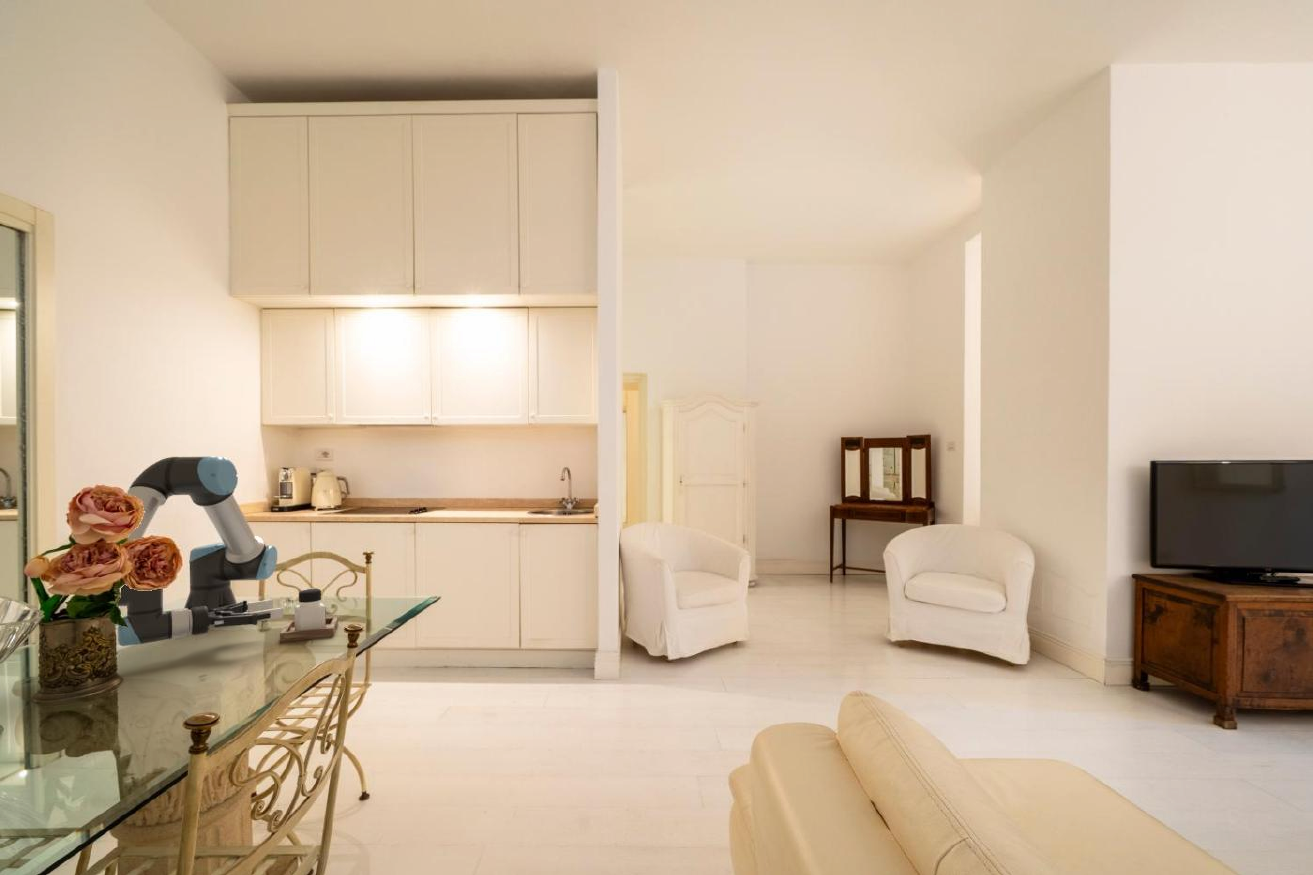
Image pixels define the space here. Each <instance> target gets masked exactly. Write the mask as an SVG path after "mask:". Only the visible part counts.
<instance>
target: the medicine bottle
mask: <svg viewBox="0 0 1313 875" xmlns="http://www.w3.org/2000/svg"><path fill="white" fill-rule="evenodd" d="M326 610H327V608H326V605H325V604H323V603H322V590H321V589H319V588H317V587H316V588H305V589H301V590H300V591H299V592H298V604H296V605H295V606H294V621H295V629H296V630H297V631H300V630H310V629H320V628H326V618H327V611H326Z"/></svg>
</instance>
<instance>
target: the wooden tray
mask: <svg viewBox="0 0 1313 875" xmlns="http://www.w3.org/2000/svg"><path fill="white" fill-rule="evenodd" d="M338 626H339V616H329V617H326V628H320V629H310V630H300V631H297V630H296V629H295V620H289V621H287V622H286V623H285V625H284V627H283V628H282V629H281V631H280V633H279V643H284V642H285V643H286V642H294V641H302V640H303V641H304V640H314V639H324V638H331V637H332V638H333V637H334V636H335V633H336V631H337V628H338Z"/></svg>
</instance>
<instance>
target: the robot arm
mask: <svg viewBox="0 0 1313 875" xmlns="http://www.w3.org/2000/svg"><path fill="white" fill-rule="evenodd" d="M238 480H239V478H238V471H237V468H236V466H235V465H234V463H233V462H232V461H231V460H230V459H228V458H226V457H223V456H215V455H207V456H170V457H166V458H162V459H160V460H158V461H156V462H154V463H152V464H151V465H150V466H148V467H147V468H146V469H144V470H143V471H142V472H141V473H140V474H139V475H138V476H137V477H136V478H135V479H134V480H133V481H132V483H131V485H130V486H129V489H128V490H127V493H128V494H131V495H134V496H136V497H138V498H140V499H142V501H143V505H144V511H145V513H144V516H143V519H142V521H141V524H140V525H139V527H138V528H136V529H135V530H134V531H133V532H132V533H131V535H130V536H129V537H128V540H134V539H136V538H144V534H145V533H146V532H147V529H148V527H149V526H150V524H151V522H152V520H153V518H154V516H155V514H156V512H157V510H158V509H159V507H162V506H164V505H166V502H167V500H168V499H169V498H170V497H173V496H189V497H190V498H191V500H192V502H193V503H194V504H195V505H196V506H198V507H202V508H203V509H204V511H205V513H206V515H207V517H209V520H210V522H211V523H212V524H213V525H212V526H214V529H215V530H216V531H217V534H218V535H219V537H220V539H221V540H222V542H218V543H212V544H205V545H202V546H197V547H195V548H193V549H192V550H190V553H189V561H188V563H189V593H188V596H187V599H186V602H185V604H184V607H183V608H178V609H171V610H167V611H164V606H163V605H164V603H163V601H164V596H163V595H164V588H163V589H157V590H152V591H137V590H134V589H130V588H129V587H128V586H126V585H124V586H123V587H122V588H121V598H120V600H119V602H118V606H117V607H126V609H127V611H126V616H123V617H122V618H123V619H124V620H125V622H126V624H127V626H128V627H126V626H121V625H119V624H118V623H117V643H118V645H119V646H122V647H128V646H134V645H135V646H137V645H139V646H140V645H143V644H149V643H155V642H158V641H159V642H161V641H165V640H172V639H175V640H176V641H177V640H179V639H180V638H182V637H188V636H190V634H191V635H193V636H196V635H203V634H204V635H205V634H207V633H208V631H209V629H210V628H209V627H210V626H214V628H216V629H217V628H222V627H233V626H234V627H235V626H247V625H253V626H257V625H258V622H264V621H270V620H275V619H282V618H284V607H277V608H274V600H273V599H266V600H265V599H264V600H260V601H253V602H248V600H242V601H241V602H237V599H236V597H235V594H234V592H233V589H232V586H231V582H232V581H234V582H235V581H237V582H238V581H261V580H263V581H264V580H267V579H269V578H271V576H273V574H274V572H275V570H276V567H277V563H278V551H277V550H278V549H277V547H275V546H274V545H271V544H270V545H266V544H265V542H264V540H263V539H262V538H261V537H260V536H256V535H255V534H254V533H253V530H252V528H251V527H250V526H251V525H249V523H248V520H247V519H246V517H245V515H244V513H243V511H242V510H241V508H240V506H239V504H238V501H237V500H236V498H235V495H234V492H235V489H236V488H237V486H238V482H239V481H238ZM127 493H126V494H127Z"/></svg>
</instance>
